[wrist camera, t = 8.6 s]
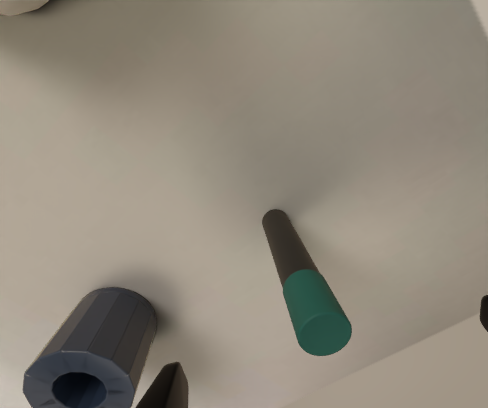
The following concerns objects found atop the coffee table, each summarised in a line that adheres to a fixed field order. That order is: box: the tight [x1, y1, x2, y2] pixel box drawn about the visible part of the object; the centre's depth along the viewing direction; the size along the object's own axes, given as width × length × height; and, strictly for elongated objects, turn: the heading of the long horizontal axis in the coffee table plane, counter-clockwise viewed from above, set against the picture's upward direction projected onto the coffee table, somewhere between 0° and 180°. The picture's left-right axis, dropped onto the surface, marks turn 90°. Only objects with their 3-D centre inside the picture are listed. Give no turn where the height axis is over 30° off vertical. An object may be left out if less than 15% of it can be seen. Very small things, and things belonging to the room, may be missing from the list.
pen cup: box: [23, 287, 157, 408], centre depth 16 cm, size 5×6×5 cm
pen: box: [262, 209, 352, 356], centre depth 13 cm, size 2×2×9 cm
